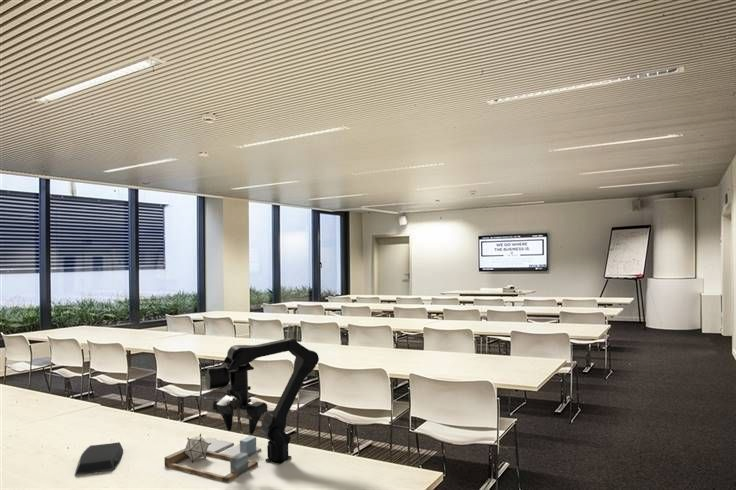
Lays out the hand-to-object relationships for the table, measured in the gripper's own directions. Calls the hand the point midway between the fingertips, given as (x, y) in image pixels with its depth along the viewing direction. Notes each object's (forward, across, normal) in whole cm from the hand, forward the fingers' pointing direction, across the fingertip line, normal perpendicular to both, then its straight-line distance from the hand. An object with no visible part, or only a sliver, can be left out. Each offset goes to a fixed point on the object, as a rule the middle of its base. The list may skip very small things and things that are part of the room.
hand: (240, 432), depth 175 cm
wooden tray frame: (+12, -11, -2) cm, 16 cm away
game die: (+12, -20, 0) cm, 23 cm away
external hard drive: (+12, -49, -15) cm, 53 cm away
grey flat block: (+12, -17, +11) cm, 24 cm away
